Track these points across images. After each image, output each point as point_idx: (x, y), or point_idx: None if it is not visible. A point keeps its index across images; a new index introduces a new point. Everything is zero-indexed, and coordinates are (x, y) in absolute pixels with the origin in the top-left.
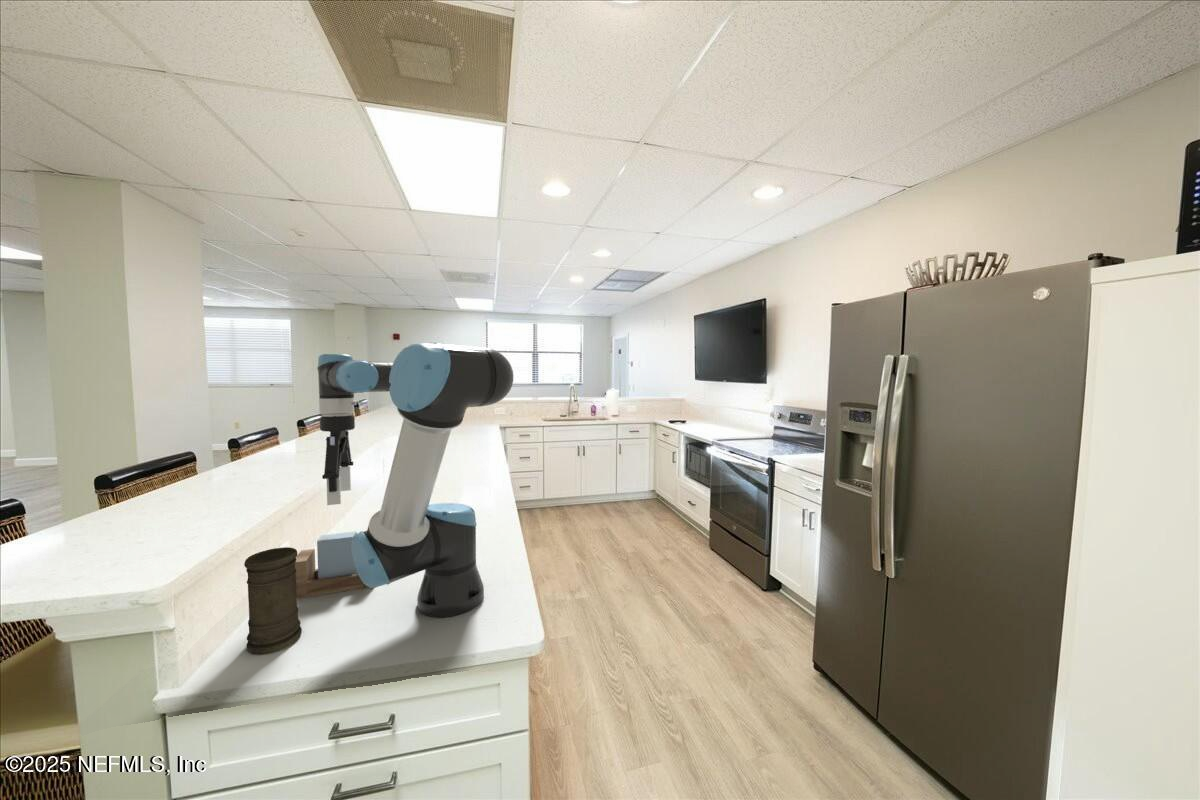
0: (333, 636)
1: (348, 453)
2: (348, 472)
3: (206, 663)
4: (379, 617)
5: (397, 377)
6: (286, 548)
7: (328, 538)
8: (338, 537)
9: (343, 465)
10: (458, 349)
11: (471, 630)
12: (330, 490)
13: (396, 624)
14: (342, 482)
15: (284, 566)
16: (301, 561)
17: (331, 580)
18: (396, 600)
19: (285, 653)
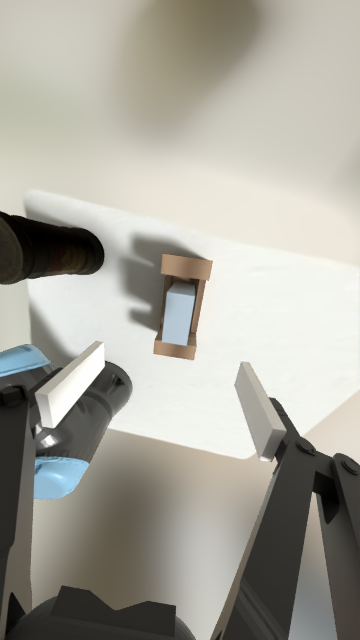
0: (77, 300)
1: (327, 554)
2: (252, 432)
3: (64, 196)
4: (97, 333)
5: None
6: (14, 266)
7: (171, 308)
8: (169, 321)
9: (282, 450)
10: None
11: None
12: (54, 373)
13: (81, 344)
14: (246, 387)
15: None
16: (161, 267)
17: (163, 297)
18: (122, 347)
19: None
